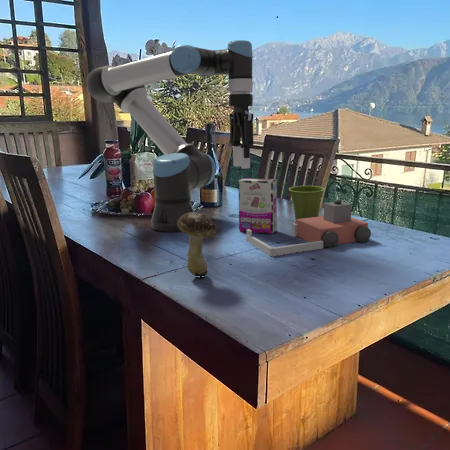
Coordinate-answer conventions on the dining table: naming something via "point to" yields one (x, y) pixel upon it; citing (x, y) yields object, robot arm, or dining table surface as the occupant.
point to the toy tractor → (321, 231)
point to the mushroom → (196, 239)
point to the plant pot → (306, 200)
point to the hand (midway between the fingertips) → (241, 167)
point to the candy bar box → (258, 205)
